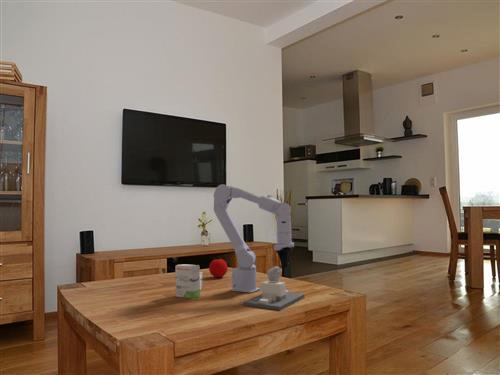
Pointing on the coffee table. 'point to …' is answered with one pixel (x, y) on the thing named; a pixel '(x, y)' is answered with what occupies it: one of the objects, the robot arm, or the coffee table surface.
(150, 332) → the coffee table surface
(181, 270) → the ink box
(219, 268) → the ornament
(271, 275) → the grey sculpted head
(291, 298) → the rail board
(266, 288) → the block
